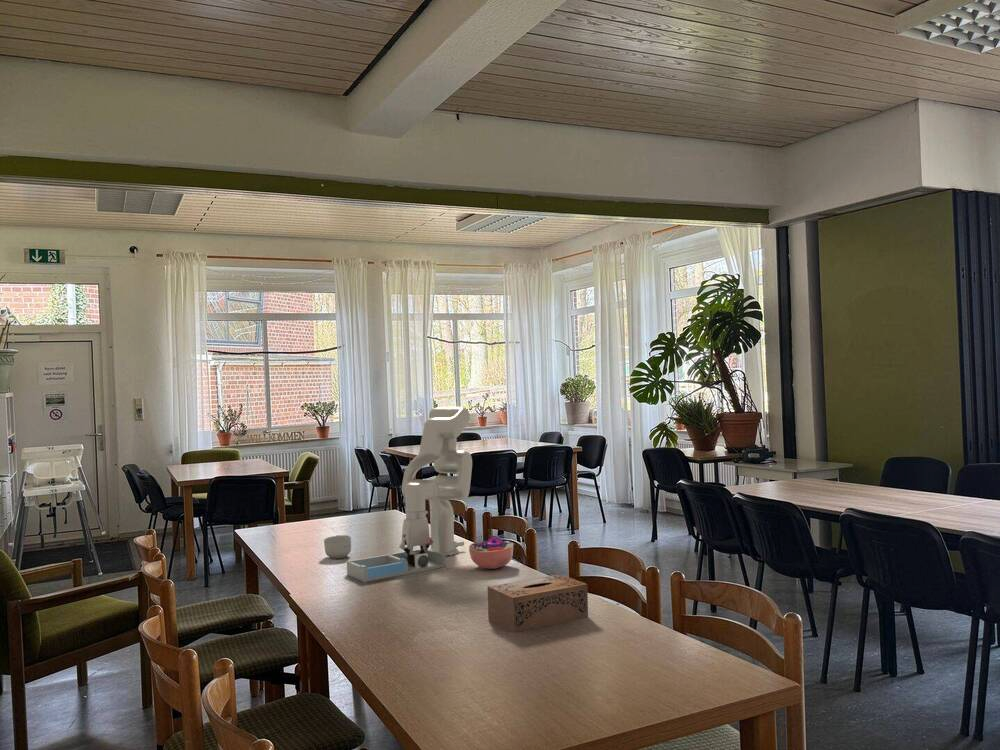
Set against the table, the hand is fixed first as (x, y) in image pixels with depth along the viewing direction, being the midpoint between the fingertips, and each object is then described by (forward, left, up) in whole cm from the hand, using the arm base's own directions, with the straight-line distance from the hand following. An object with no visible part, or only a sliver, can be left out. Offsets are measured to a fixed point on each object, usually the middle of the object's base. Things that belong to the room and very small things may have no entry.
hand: (416, 562), depth 303 cm
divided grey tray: (+8, -1, -2) cm, 8 cm away
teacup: (+14, -39, -2) cm, 41 cm away
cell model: (-22, +19, -2) cm, 29 cm away
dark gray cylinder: (0, 0, +1) cm, 1 cm away
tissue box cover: (+5, +79, -2) cm, 80 cm away
